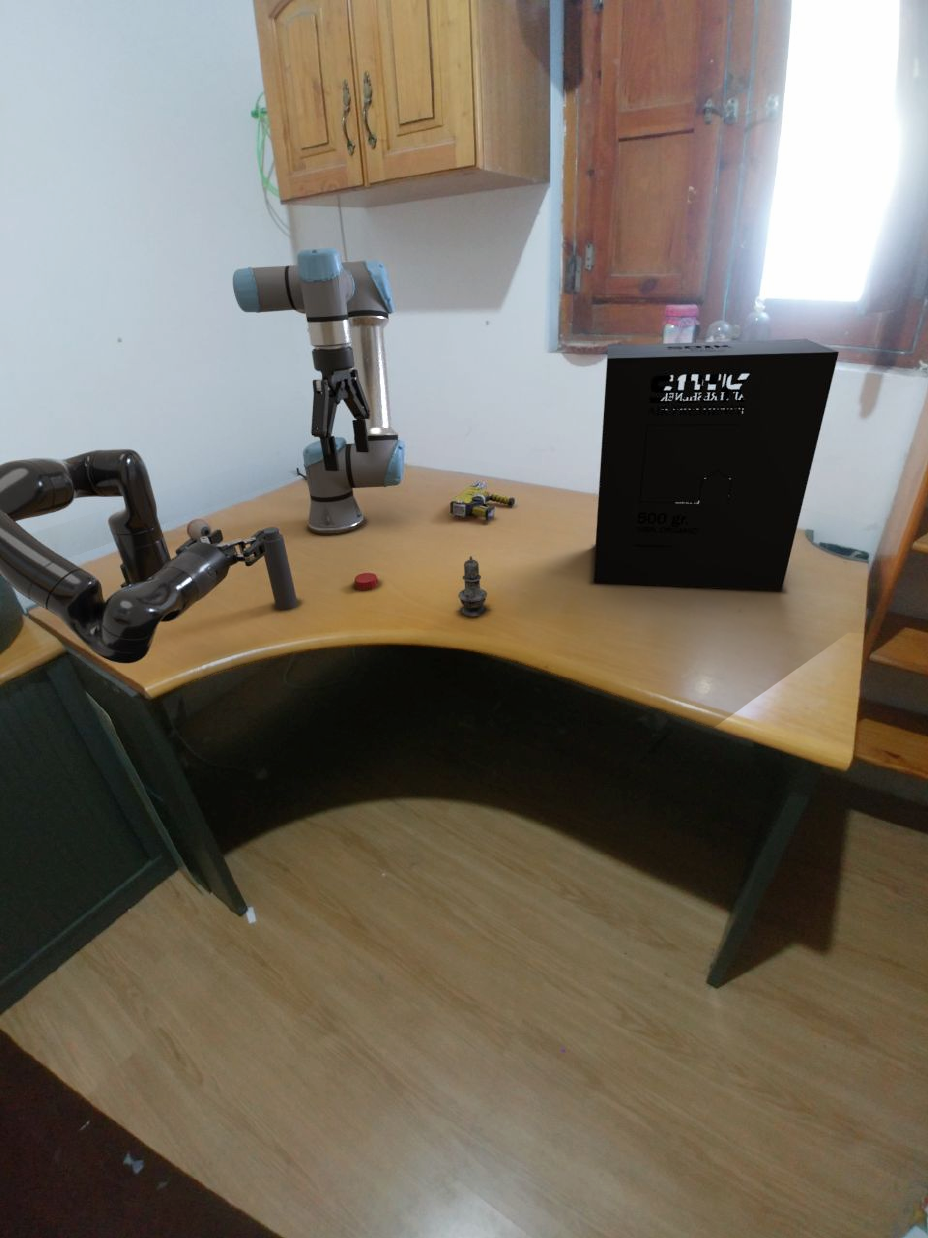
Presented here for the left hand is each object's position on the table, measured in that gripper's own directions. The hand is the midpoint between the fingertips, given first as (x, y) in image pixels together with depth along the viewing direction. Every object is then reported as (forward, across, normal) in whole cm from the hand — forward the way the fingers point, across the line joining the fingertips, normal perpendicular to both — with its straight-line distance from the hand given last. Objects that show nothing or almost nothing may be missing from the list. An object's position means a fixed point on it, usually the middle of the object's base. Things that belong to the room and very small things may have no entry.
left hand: (241, 534), depth 111 cm
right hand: (+21, +14, +8) cm, 27 cm away
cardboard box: (+34, +84, -21) cm, 93 cm away
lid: (+20, +15, -19) cm, 31 cm away
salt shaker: (+11, +41, -20) cm, 47 cm away
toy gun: (+71, +35, -21) cm, 82 cm away
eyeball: (+42, -40, -21) cm, 62 cm away
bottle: (+10, 0, -20) cm, 23 cm away
